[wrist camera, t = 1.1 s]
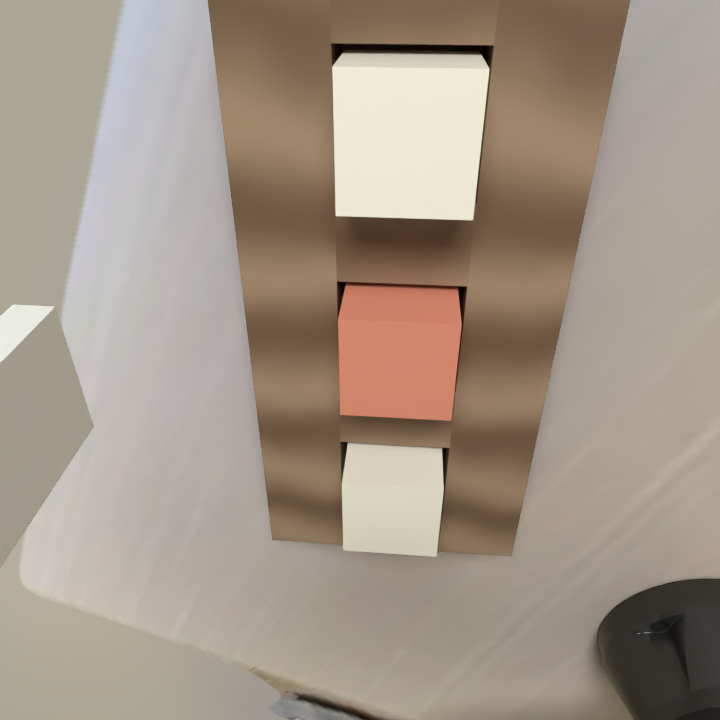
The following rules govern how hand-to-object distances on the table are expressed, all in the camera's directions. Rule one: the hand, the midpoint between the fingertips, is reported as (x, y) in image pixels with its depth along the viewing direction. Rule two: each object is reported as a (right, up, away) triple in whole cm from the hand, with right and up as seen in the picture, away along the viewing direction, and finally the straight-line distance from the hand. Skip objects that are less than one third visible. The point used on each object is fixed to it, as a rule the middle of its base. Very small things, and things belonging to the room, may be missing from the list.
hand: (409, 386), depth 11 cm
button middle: (+1, +2, +22) cm, 22 cm away
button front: (+1, +11, +16) cm, 20 cm away
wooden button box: (+2, +4, +25) cm, 25 cm away
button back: (+1, -6, +28) cm, 29 cm away
